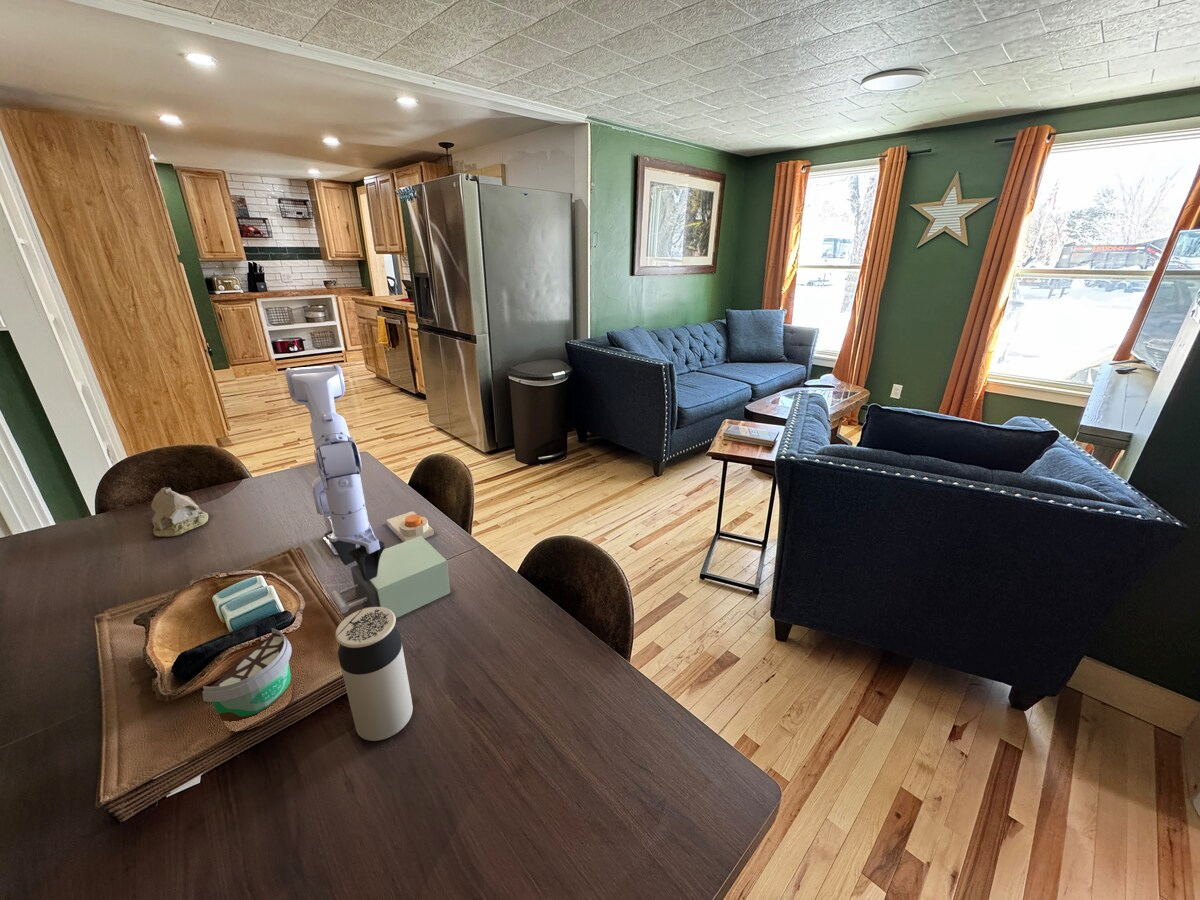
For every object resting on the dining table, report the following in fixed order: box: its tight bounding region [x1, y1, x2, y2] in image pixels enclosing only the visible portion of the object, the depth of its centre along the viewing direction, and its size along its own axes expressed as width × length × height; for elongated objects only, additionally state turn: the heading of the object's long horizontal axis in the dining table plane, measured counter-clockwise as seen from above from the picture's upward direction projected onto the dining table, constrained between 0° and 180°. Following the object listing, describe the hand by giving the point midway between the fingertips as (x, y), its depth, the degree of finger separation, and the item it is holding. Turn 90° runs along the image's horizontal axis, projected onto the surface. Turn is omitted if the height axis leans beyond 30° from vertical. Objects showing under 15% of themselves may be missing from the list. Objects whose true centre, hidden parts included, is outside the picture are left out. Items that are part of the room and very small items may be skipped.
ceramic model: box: [150, 486, 209, 537], centre depth 118 cm, size 14×11×10 cm
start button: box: [405, 513, 422, 527], centre depth 116 cm, size 4×4×2 cm
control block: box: [386, 510, 435, 543], centre depth 119 cm, size 12×7×4 cm, turn 43°
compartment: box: [330, 565, 380, 614], centre depth 94 cm, size 17×11×6 cm, turn 133°
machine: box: [355, 536, 451, 619], centre depth 96 cm, size 14×12×8 cm
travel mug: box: [335, 607, 414, 742], centre depth 68 cm, size 8×8×18 cm
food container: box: [202, 628, 293, 722], centre depth 71 cm, size 12×6×10 cm, turn 168°
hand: (360, 570), depth 89 cm, fingers open, 7 cm apart
